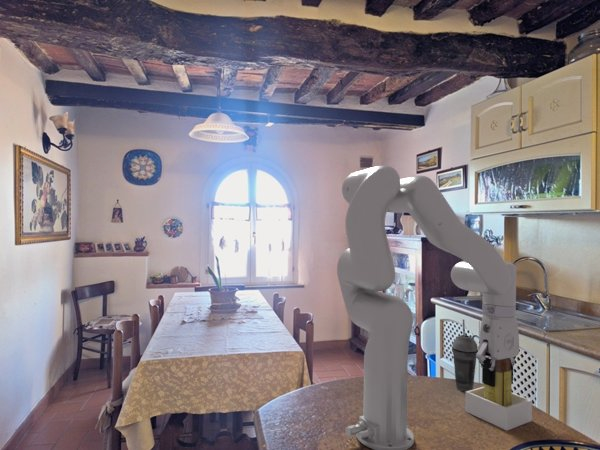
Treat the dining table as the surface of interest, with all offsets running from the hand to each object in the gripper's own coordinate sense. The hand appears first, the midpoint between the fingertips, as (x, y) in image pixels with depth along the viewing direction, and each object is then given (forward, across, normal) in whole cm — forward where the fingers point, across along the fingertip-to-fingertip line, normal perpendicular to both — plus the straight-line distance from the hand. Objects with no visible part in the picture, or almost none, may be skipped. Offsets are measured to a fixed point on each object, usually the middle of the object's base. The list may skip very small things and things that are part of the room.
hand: (497, 381), depth 100 cm
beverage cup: (+9, +8, +16) cm, 19 cm away
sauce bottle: (+7, 0, 0) cm, 7 cm away
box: (+9, 0, 0) cm, 9 cm away
